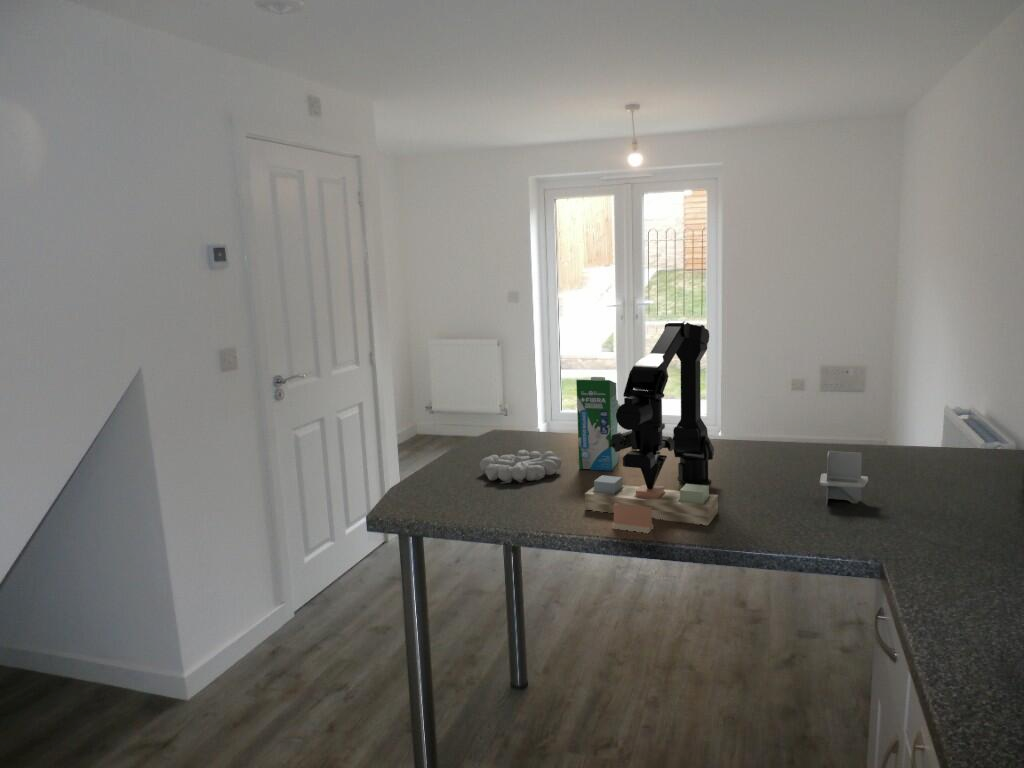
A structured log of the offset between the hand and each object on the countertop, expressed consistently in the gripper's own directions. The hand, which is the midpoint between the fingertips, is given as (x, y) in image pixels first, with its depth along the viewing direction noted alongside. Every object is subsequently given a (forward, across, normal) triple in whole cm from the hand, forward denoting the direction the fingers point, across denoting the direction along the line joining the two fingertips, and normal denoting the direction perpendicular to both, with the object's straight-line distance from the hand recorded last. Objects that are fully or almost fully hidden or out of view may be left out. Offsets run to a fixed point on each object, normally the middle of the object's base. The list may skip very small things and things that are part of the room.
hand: (650, 488), depth 170 cm
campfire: (+6, -17, -42) cm, 46 cm away
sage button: (+2, 0, +10) cm, 10 cm away
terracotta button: (+3, 0, 0) cm, 3 cm away
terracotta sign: (+5, +12, 0) cm, 13 cm away
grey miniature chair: (+6, -20, +38) cm, 44 cm away
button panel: (+5, 0, 0) cm, 5 cm away
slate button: (+2, 0, -10) cm, 10 cm away
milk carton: (+6, -31, -25) cm, 40 cm away
